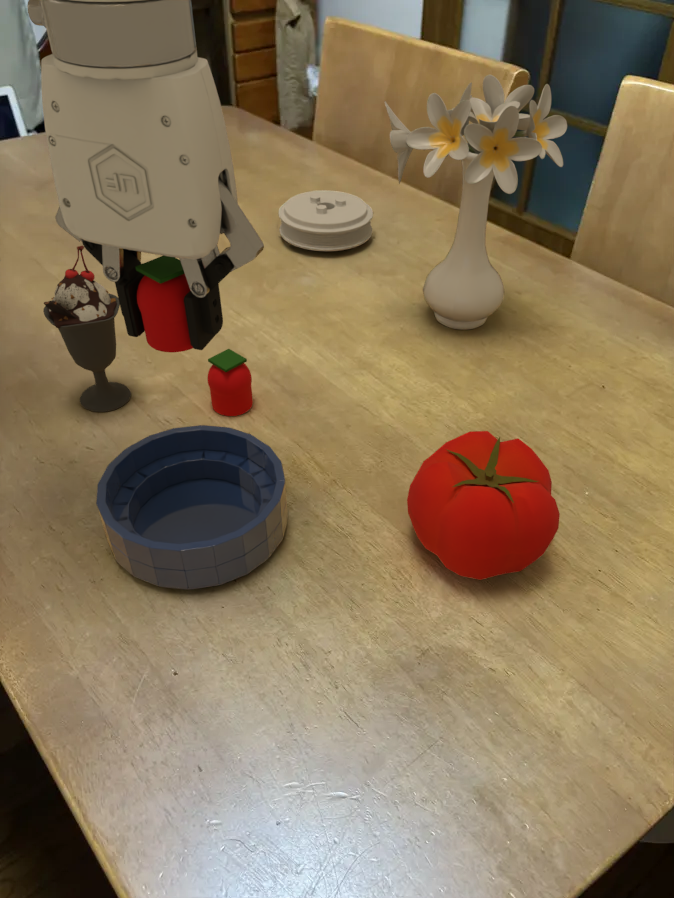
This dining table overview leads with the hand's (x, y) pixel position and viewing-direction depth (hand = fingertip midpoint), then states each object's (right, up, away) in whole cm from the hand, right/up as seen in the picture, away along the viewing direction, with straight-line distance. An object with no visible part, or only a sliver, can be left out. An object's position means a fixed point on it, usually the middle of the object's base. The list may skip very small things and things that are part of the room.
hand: (174, 330), depth 52 cm
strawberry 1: (0, 0, 0) cm, 1 cm away
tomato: (+22, -16, +10) cm, 29 cm away
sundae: (-13, -2, +23) cm, 26 cm away
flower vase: (+24, +9, +36) cm, 44 cm away
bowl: (-1, -14, +10) cm, 17 cm away
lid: (+8, +24, +51) cm, 57 cm away
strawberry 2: (0, -2, +23) cm, 23 cm away
